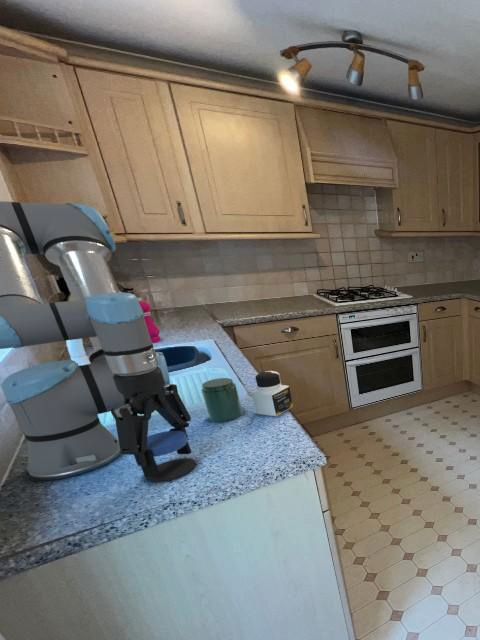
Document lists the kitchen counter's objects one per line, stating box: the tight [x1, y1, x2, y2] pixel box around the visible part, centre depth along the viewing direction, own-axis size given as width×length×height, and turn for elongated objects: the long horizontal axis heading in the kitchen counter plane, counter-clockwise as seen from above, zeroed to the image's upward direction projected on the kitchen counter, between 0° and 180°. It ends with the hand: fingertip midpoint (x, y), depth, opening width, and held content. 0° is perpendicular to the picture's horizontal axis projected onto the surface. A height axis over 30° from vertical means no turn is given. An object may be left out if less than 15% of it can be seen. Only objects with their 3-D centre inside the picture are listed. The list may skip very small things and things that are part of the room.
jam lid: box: [137, 430, 188, 458], centre depth 89 cm, size 9×8×2 cm
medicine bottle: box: [250, 370, 294, 417], centre depth 119 cm, size 7×7×12 cm
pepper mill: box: [137, 297, 162, 344], centre depth 182 cm, size 7×7×20 cm
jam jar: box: [201, 377, 244, 423], centre depth 116 cm, size 8×8×10 cm
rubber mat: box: [144, 457, 197, 484], centre depth 92 cm, size 9×9×1 cm
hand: (169, 464), depth 91 cm, fingers closed on jam lid, 8 cm apart
